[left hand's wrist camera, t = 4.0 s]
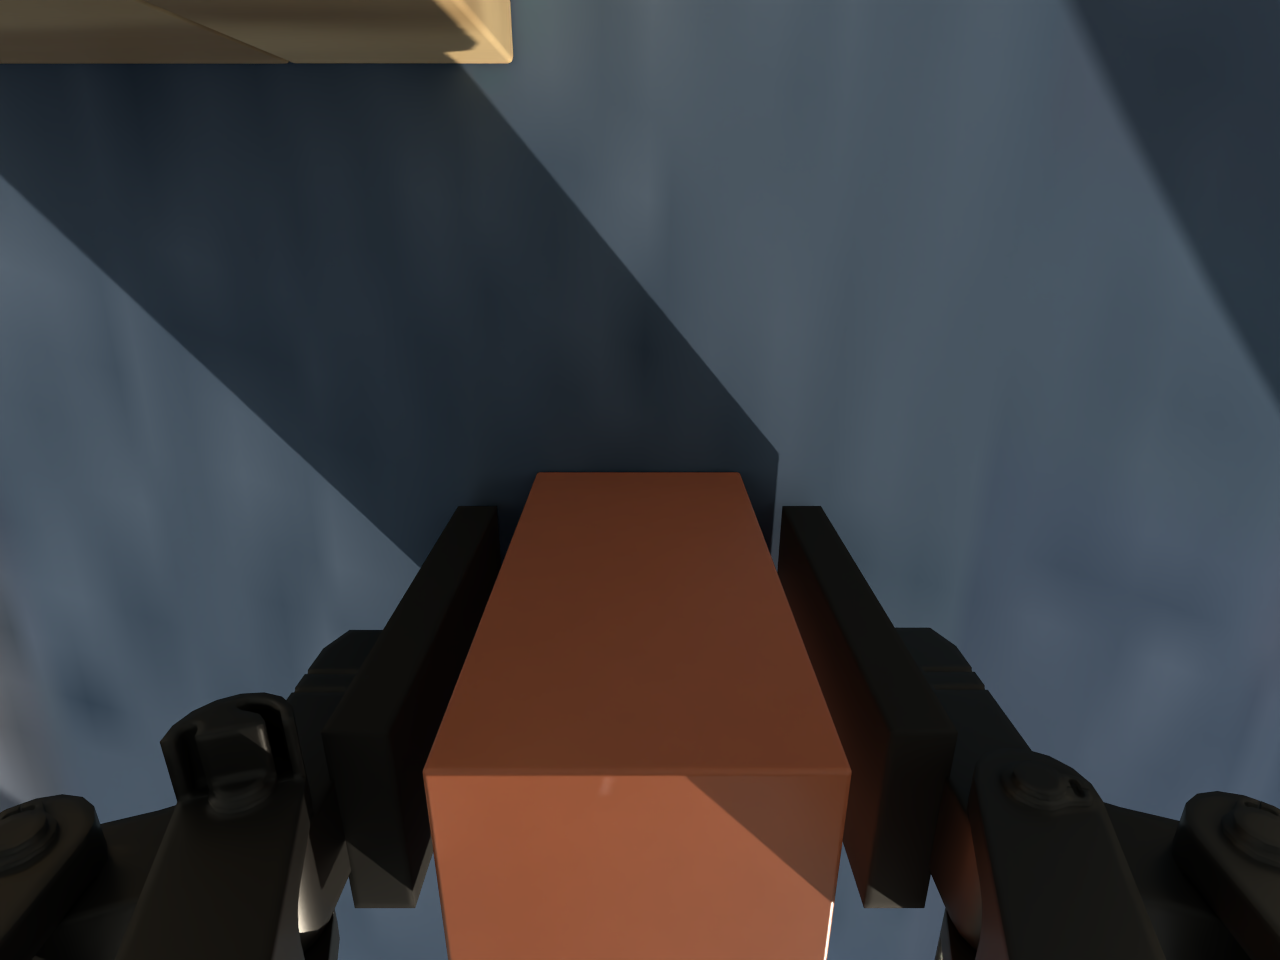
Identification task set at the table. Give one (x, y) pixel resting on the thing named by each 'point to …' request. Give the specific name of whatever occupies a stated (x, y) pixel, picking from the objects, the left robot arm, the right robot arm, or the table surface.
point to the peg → (637, 739)
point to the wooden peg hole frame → (254, 31)
